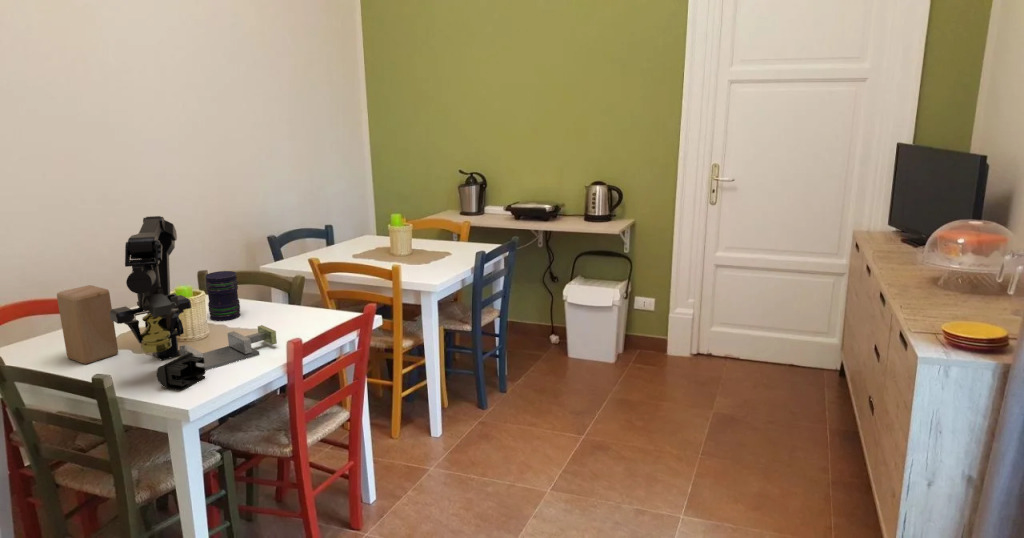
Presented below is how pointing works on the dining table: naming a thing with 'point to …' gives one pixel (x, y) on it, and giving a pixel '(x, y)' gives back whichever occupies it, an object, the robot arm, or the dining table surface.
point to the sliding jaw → (251, 339)
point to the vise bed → (217, 356)
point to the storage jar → (223, 295)
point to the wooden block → (87, 323)
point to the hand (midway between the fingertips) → (155, 339)
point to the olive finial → (155, 335)
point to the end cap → (181, 372)
